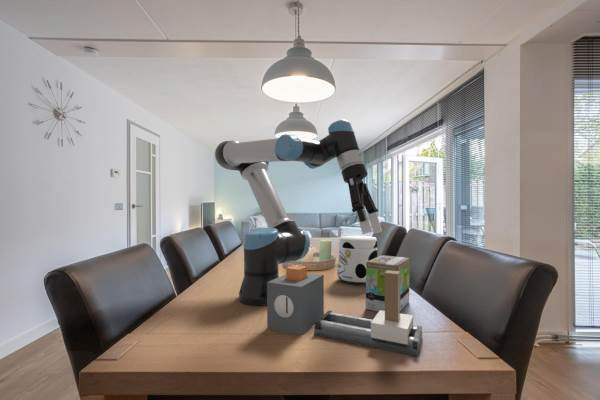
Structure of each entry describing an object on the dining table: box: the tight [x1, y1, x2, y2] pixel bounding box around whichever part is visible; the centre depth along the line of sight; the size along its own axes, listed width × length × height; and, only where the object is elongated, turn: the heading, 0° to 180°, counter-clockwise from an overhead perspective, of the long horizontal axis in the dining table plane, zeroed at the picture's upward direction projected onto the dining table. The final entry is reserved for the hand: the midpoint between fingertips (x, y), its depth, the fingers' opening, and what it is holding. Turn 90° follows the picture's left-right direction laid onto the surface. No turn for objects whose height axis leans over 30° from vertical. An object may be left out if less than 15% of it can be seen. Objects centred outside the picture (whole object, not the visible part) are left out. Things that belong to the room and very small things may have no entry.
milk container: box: [336, 235, 378, 285], centre depth 127 cm, size 17×17×18 cm
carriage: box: [371, 270, 414, 345], centre depth 73 cm, size 8×9×14 cm
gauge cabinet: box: [266, 272, 325, 337], centre depth 84 cm, size 10×14×12 cm
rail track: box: [313, 310, 423, 357], centre depth 75 cm, size 24×10×3 cm, turn 63°
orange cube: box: [285, 264, 308, 281], centre depth 84 cm, size 4×4×4 cm
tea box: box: [365, 254, 411, 313], centre depth 98 cm, size 15×10×15 cm, turn 148°
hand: (373, 233), depth 92 cm, fingers open, 13 cm apart
